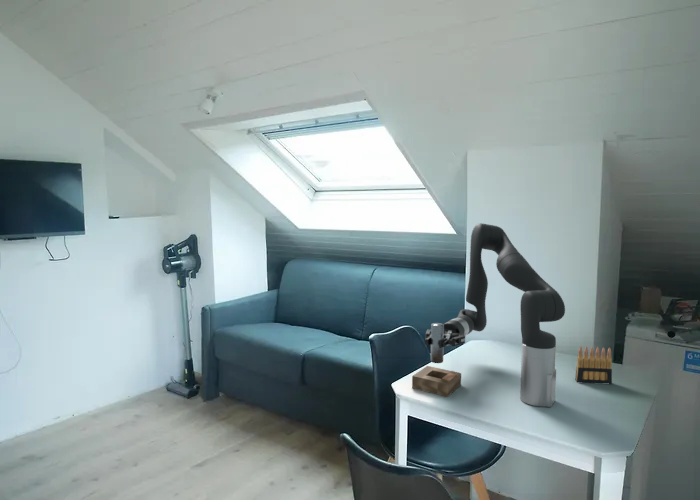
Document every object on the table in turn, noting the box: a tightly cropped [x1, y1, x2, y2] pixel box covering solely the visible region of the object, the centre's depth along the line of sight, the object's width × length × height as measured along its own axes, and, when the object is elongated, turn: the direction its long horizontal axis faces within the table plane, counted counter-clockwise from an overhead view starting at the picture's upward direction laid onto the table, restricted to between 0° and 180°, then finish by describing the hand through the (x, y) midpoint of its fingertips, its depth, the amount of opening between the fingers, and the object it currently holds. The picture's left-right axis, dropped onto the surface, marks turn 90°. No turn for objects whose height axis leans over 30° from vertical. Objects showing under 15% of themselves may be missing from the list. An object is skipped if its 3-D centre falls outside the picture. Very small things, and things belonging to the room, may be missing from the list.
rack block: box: [411, 365, 462, 398], centre depth 149 cm, size 12×11×4 cm
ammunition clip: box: [574, 346, 613, 385], centre depth 152 cm, size 11×2×12 cm, turn 82°
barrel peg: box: [430, 322, 445, 364], centre depth 148 cm, size 4×4×12 cm
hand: (433, 343), depth 146 cm, fingers closed on barrel peg, 4 cm apart
